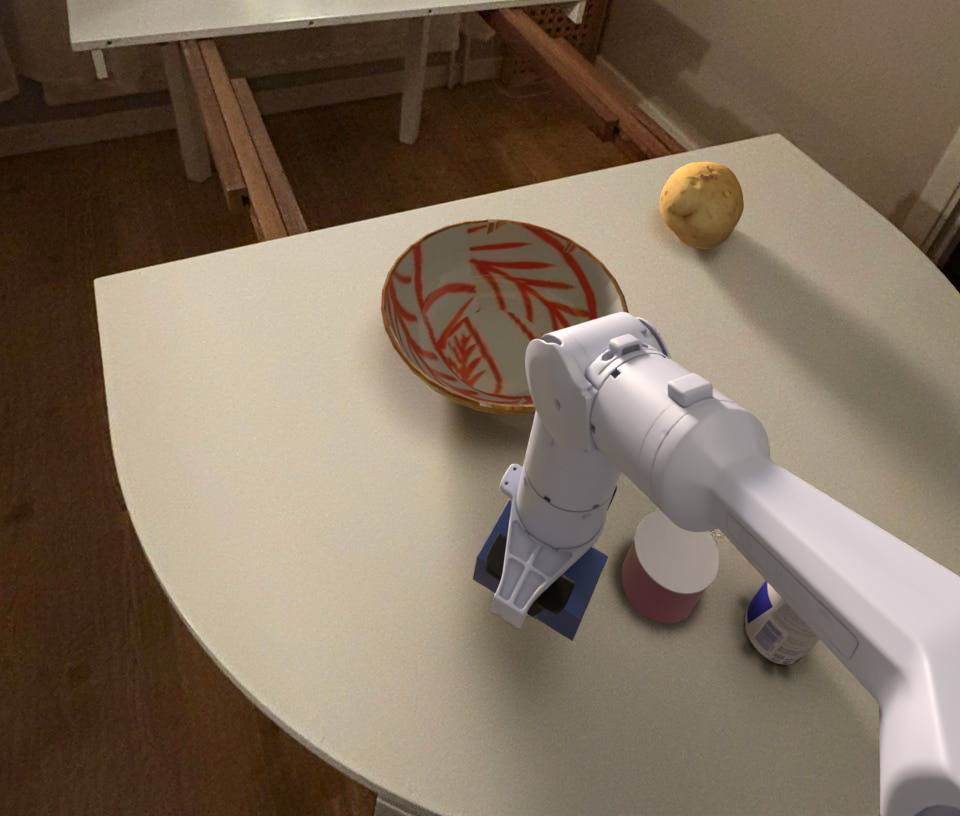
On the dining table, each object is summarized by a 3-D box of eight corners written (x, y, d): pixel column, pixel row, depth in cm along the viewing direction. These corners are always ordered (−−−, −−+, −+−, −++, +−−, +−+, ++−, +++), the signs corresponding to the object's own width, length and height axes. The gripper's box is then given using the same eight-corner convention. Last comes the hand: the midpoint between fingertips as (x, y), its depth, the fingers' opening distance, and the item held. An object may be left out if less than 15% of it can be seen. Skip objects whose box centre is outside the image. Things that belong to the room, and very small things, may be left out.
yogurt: (712, 614, 63) (735, 581, 59) (639, 635, 61) (657, 603, 57) (675, 535, 68) (694, 500, 64) (607, 553, 66) (621, 518, 62)
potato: (737, 214, 104) (760, 156, 98) (722, 273, 95) (747, 213, 88) (664, 190, 106) (682, 132, 100) (642, 245, 97) (661, 185, 91)
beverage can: (810, 624, 63) (887, 537, 54) (795, 683, 60) (875, 600, 50) (750, 588, 65) (815, 497, 56) (732, 642, 61) (798, 556, 52)
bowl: (555, 251, 95) (566, 202, 90) (657, 421, 77) (677, 372, 72) (356, 290, 87) (355, 239, 82) (418, 490, 69) (422, 441, 64)
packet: (599, 577, 56) (609, 554, 54) (572, 642, 53) (581, 621, 50) (504, 521, 59) (509, 498, 57) (471, 580, 55) (476, 557, 53)
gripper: (560, 356, 53) (533, 462, 61) (454, 533, 43) (440, 631, 51) (656, 403, 51) (615, 507, 59) (569, 603, 40) (534, 693, 49)
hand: (540, 568), depth 55 cm, fingers closed on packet, 5 cm apart
